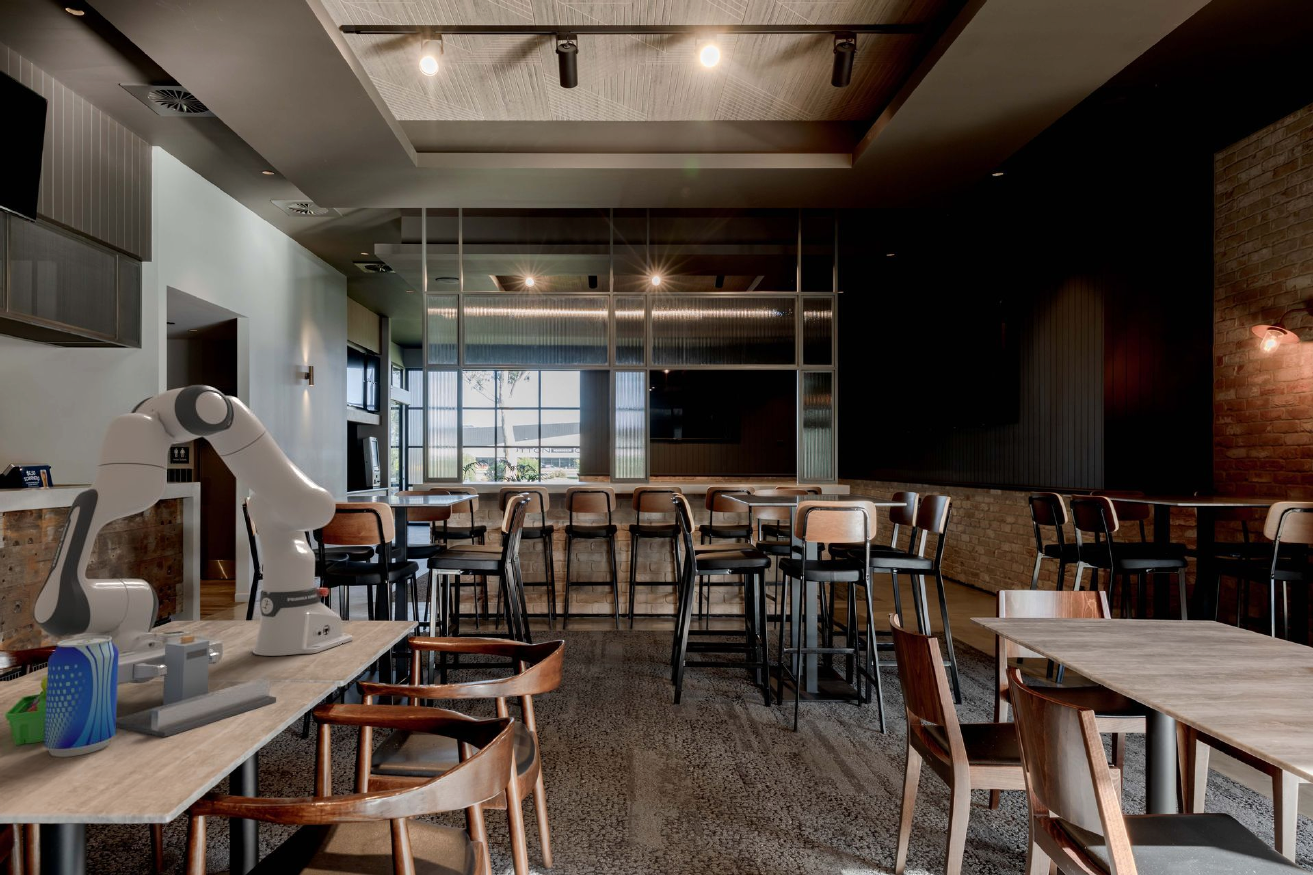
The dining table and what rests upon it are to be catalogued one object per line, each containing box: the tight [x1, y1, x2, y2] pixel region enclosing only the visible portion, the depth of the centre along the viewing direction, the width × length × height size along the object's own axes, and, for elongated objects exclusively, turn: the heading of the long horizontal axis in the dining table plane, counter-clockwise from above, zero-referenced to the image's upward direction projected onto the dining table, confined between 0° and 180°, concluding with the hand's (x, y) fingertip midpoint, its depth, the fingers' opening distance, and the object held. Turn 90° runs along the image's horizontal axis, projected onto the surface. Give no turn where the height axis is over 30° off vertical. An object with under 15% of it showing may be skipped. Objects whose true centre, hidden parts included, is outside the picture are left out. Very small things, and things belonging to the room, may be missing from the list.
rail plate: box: [116, 678, 277, 738], centre depth 127 cm, size 20×14×4 cm
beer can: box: [43, 636, 119, 758], centre depth 111 cm, size 8×8×16 cm
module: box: [162, 634, 210, 706], centre depth 128 cm, size 4×5×12 cm
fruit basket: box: [4, 675, 47, 746], centre depth 117 cm, size 11×9×11 cm
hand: (190, 664), depth 128 cm, fingers open, 8 cm apart
